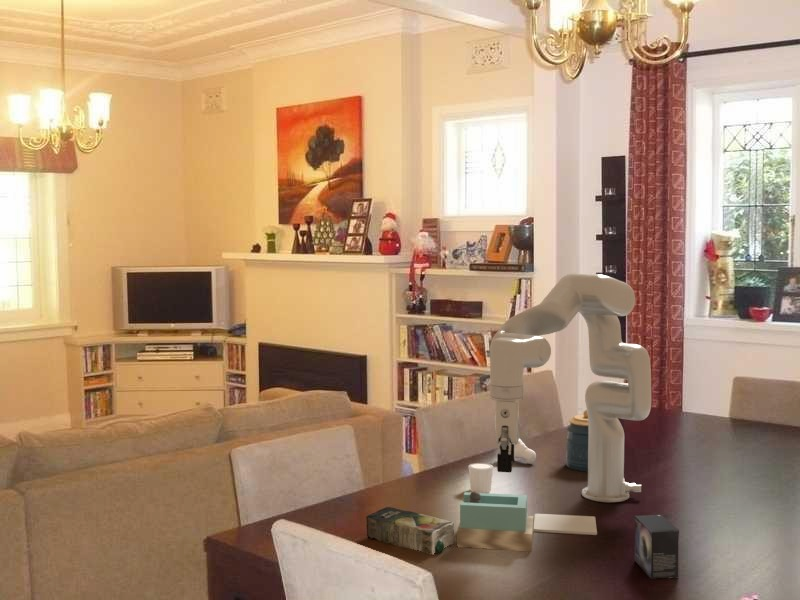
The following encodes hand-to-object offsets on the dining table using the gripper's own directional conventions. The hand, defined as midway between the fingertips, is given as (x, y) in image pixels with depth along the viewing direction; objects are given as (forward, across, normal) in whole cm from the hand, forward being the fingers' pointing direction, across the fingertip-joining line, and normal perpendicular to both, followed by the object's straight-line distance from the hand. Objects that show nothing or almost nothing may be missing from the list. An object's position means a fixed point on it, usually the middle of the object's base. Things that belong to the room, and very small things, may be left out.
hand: (505, 466), depth 208 cm
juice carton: (+20, 0, +22) cm, 29 cm away
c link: (+15, +4, +2) cm, 16 cm away
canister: (+18, +73, -21) cm, 78 cm away
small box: (+19, -9, -33) cm, 39 cm away
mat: (+19, +17, -14) cm, 29 cm away
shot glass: (+19, +43, +9) cm, 48 cm away
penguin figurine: (+19, +75, 0) cm, 78 cm away
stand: (+19, +4, +2) cm, 19 cm away
